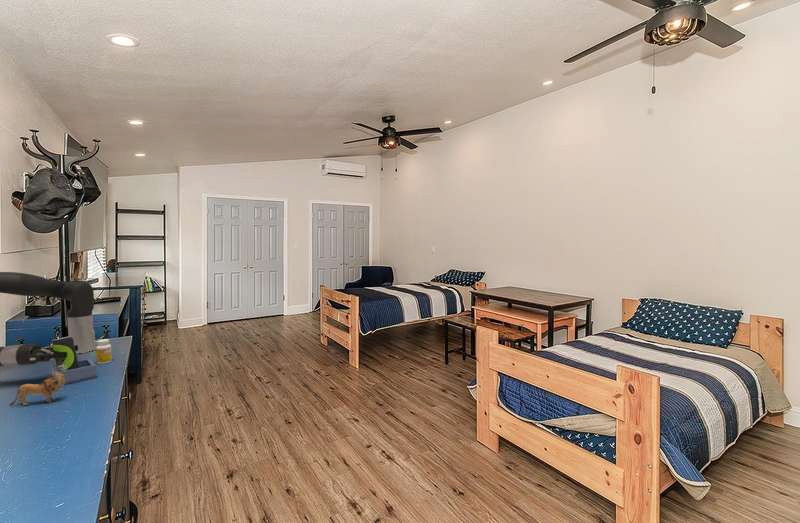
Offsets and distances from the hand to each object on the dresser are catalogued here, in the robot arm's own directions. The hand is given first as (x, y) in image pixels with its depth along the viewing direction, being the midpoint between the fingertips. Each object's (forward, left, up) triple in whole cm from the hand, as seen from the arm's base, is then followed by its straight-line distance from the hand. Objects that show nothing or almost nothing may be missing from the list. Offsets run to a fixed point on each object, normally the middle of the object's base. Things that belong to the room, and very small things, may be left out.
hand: (72, 351), depth 152 cm
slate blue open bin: (0, 0, -11) cm, 11 cm away
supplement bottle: (-12, -14, -11) cm, 21 cm away
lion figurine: (+11, +19, -11) cm, 24 cm away
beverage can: (+1, +2, -9) cm, 10 cm away
